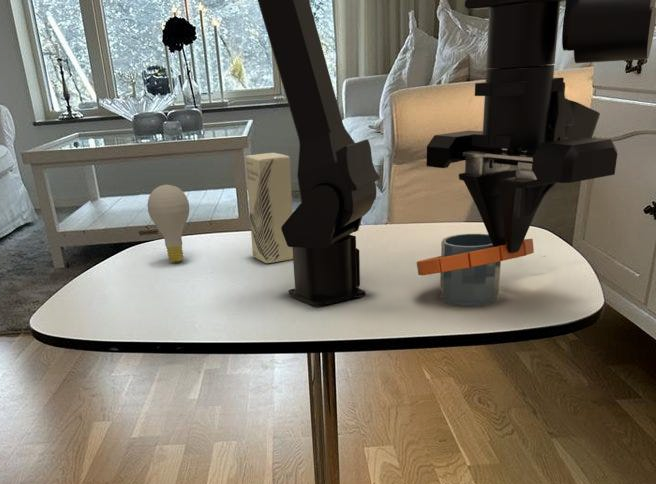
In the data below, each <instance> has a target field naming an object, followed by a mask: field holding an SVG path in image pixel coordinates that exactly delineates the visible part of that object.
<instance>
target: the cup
mask: <svg viewBox="0 0 656 484" xmlns="http://www.w3.org/2000/svg"><path fill="white" fill-rule="evenodd" d="M440 247H441V249H440V256H441V257H446V256H452V255H457V254H462V253H467V252H472V251H477V250H482V249H487V248H492V247H493V244H492V242H491V239H490V237H489V235H488V233H487V234H486V233H461V234H454V235H449V236H447V237H444V238H443V239H442V240H441V246H440ZM501 264H502V261H500V262H495V263H490V264H485V265H480V266H475V267H469V268H465V269H459V270H454V271H448V272H442V273H440V279H439V281H440V282H439V299H440V301H441V302H443V303H445V304H447V305H451V306H456V307H479V306H486V305H490V304H493V303H495V302H497V301H498V299H499V293H500V279H501Z"/></svg>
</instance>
